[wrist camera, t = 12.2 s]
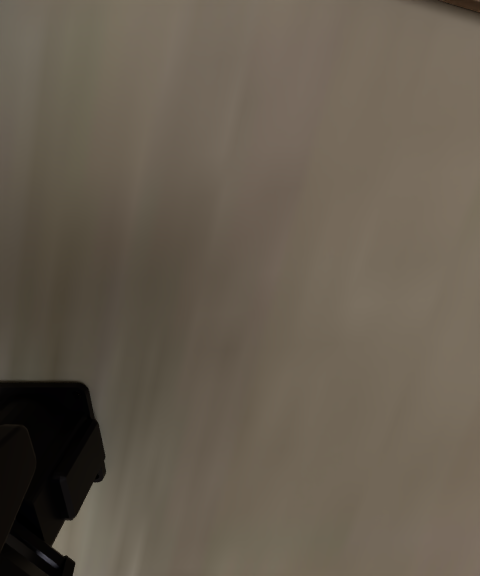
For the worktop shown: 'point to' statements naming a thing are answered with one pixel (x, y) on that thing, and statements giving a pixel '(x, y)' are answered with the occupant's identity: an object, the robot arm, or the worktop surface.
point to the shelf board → (466, 4)
